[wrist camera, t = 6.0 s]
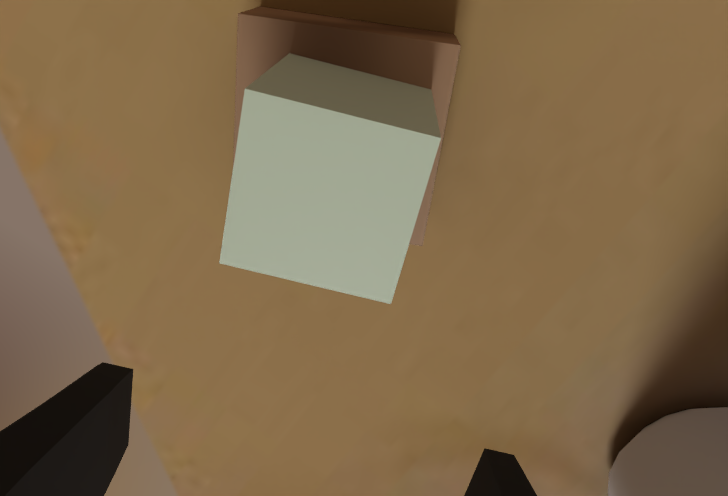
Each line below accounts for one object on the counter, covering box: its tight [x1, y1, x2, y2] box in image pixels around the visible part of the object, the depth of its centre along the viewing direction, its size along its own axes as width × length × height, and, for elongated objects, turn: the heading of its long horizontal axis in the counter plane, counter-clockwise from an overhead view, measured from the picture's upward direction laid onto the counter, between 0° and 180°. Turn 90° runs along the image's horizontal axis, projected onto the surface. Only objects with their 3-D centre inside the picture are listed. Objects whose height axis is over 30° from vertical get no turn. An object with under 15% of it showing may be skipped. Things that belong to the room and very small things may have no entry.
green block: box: [219, 53, 441, 304], centre depth 15 cm, size 4×4×5 cm
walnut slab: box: [233, 6, 461, 246], centre depth 18 cm, size 6×6×3 cm
